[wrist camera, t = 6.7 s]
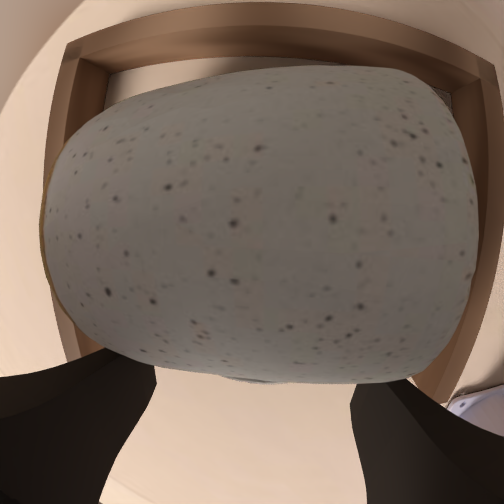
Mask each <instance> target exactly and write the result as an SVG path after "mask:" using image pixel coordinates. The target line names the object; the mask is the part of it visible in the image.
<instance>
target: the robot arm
mask: <svg viewBox="0 0 504 504" xmlns="http://www.w3.org/2000/svg"><path fill="white" fill-rule="evenodd" d="M156 385H157V382H156V375H155V369H154V365H150V364H146V363H142V362H139V361H136V360H134V359H131V358H129V357H126V356H124V355H122V354H119V353H117V352H115V351H112V350H110V349H108V348H106V347H105V348H103V349H100V350H98V351H96V352H93V353H91V354H89V355H86V356H84V357H81V358H78V359H76V360H73V361H70V362H68V363H65V364H62V365H59V366H56V367H53V368H49V369H46V370H42V371H38V372H33V373H29V374H22V375H15V376H7V377H0V504H98V502H99V499H100V496H101V493H102V490H103V488H104V485H105V483H106V480H107V477H108V475H109V473H110V470H111V468H112V466H113V463H114V461H115V459H116V457H117V455H118V453H119V452H120V450H121V448H122V446H123V445H124V443H125V442H126V440H127V438H128V437H129V435H130V434H131V432H132V430H133V429H134V427H135V426H136V424H137V422H138V421H139V419H140V418H141V416H142V414H143V413H144V411H145V409H146V408H147V406H148V404H149V401H150V399H151V397H152V395H153V392H154V390H155V387H156ZM350 411H351V421H352V429H353V433H354V437H355V441H356V445H357V449H358V453H359V458H360V462H361V466H362V470H363V474H364V479H365V485H366V492H367V504H504V385H501V386H497V387H494V388H491V389H487V390H483V391H480V392H476V393H472V394H468V395H464V396H459V397H456V398H455V399H453V400H452V401H451V403H450V404H449V406H448V408H447V409H446V408H444V407H443V406H441V405H440V404H438V403H437V402H436V401H434V400H433V399H431V398H430V397H429V396H427V395H426V394H425V393H423V392H422V391H421V390H419V389H418V388H417V387H416V386H414V385H413V384H412V383H411V382H409V381H408V380H407V379H406V378H405V379H400V380H395V381H389V382H381V383H361V384H357V385H356V388H355V391H354V394H353V397H352V400H351V402H350Z"/></svg>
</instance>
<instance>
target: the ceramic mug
mask: <svg viewBox="0 0 504 504" xmlns="http://www.w3.org/2000/svg"><path fill="white" fill-rule="evenodd" d="M39 237H40V249H41V256H42V261H43V266H44V270H45V275H46V278H47V280H48V283H49V285H50V287H51V289H52V292H53V294H54V296H55V298H56V300H57V302H58V304H59V307H60V308H61V309H62V311H63V312H64V313H65V314H66V315H67V317H68V318H69V319H70V320H71V321H72V323H73V324H74V325H75V326H76V327H77V328H78V329H79V330H80V331H81V332H82V333H83V334H85V335H86V336H88V337H89V338H91V339H92V340H94V341H95V342H97V343H98V344H100V345H101V346H103V347H106V348H108V349H110V350H112V351H115V352H117V353H119V354H122V355H124V356H126V357H129V358H131V359H134V360H136V361H139V362H142V363H146V364H150V365H154V366H158V367H163V368H169V369H176V370H183V371H190V372H198V373H207V374H214V375H219V376H222V377H225V378H229V379H232V380H236V381H241V382H248V383H255V384H282V383H310V384H361V383H381V382H389V381H395V380H400V379H405V378H409V377H411V376H413V375H415V374H418V373H420V372H422V371H424V370H425V369H426V368H427V367H428V366H429V365H430V364H431V362H432V361H433V360H434V359H436V357H437V356H438V355H439V354H440V353H441V352H442V350H443V349H444V348H445V347H446V345H447V344H448V343H449V341H450V339H451V338H452V336H453V334H454V332H455V330H456V328H457V326H458V324H459V321H460V319H461V317H462V314H463V312H464V309H465V306H466V304H467V301H468V298H469V293H470V286H471V280H472V277H473V275H474V272H475V269H476V261H477V251H478V240H479V222H478V202H477V190H476V185H475V180H474V176H473V171H472V167H471V163H470V160H469V156H468V153H467V150H466V146H465V143H464V140H463V137H462V134H461V131H460V129H459V127H458V126H457V124H456V122H455V120H454V118H453V116H452V114H451V112H450V111H449V109H448V108H447V106H446V105H445V103H444V102H443V100H442V99H441V98H440V97H439V96H438V95H437V94H436V93H435V92H434V90H433V89H432V88H431V87H430V86H429V85H427V84H426V83H424V82H423V81H421V80H420V79H418V78H417V77H415V76H413V75H412V74H409V73H406V72H404V71H401V70H397V69H393V68H382V67H368V66H327V65H306V66H291V67H275V68H266V69H257V70H247V71H240V72H234V73H228V74H223V75H218V76H212V77H207V78H203V79H198V80H193V81H189V82H184V83H180V84H176V85H172V86H168V87H164V88H160V89H156V90H152V91H149V92H145V93H142V94H139V95H136V96H133V97H130V98H128V99H126V100H123V101H121V102H119V103H116V104H114V105H113V106H111V107H110V108H108V109H106V110H105V111H103V112H102V113H100V114H99V115H97V116H95V117H94V118H92V119H91V120H89V121H88V122H86V123H85V124H84V125H83V126H82V127H81V128H80V129H79V130H78V131H77V132H75V133H74V134H73V135H72V136H71V137H70V138H69V139H68V140H67V141H66V143H65V144H64V146H63V147H62V149H61V150H60V152H59V153H58V155H57V156H56V158H55V160H54V162H53V164H52V167H51V169H50V171H49V174H48V177H47V180H46V183H45V186H44V190H43V196H42V203H41V210H40V219H39Z"/></svg>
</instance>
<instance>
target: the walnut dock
mask: <svg viewBox="0 0 504 504" xmlns="http://www.w3.org/2000/svg"><path fill="white" fill-rule="evenodd" d="M235 56H267V57H288V58H301V59H312V60H320V61H328V62H335V63H342V64H348V65H353V66H368V67H382V68H393V69H397V70H401V71H404V72H406V73H409V74H412V75H413V76H415V77H417V78H418V79H420V80H421V81H423V82H424V83H426V84H427V85H430V86H433V87H436V88H439V89H441V90H444V91H447V92H449V93H451V98H452V108H453V118H454V120H455V122H456V124H457V126H458V127H459V129H460V131H461V134H462V137H463V140H464V143H465V146H466V150H467V153H468V156H469V160H470V163H471V167H472V171H473V176H474V180H475V185H476V190H477V202H478V222H479V240H478V251H477V261H476V269H475V272H474V275H473V277H472V280H471V286H470V293H469V298H468V301H467V304H466V306H465V309H464V312H463V314H462V317H461V319H460V321H459V324H458V326H457V328H456V330H455V332H454V334H453V336H452V338H451V339H450V341H449V343H448V344H447V345H446V347H445V348H444V349H443V350H442V352H441V353H440V354H439V355H438V356H437V357H436V359H434V360H433V361H432V362H431V364H430V365H429V366H428V367H427V368H426V369H425V370H424V371H422V372H420V373H418V374H415V375H413V376H411V377H412V378H413V380H414V382H415V383H416V385H417V387H418V389H419V390H421V391H422V392H423V393H425V394H426V395H427V396H429V397H430V398H431V399H433V400H434V401H436V402H437V403H438V404H441V403H446V402H448V400H449V398H450V396H451V394H452V392H453V390H454V388H455V387H456V384H457V382H458V380H459V378H460V376H461V374H462V372H463V370H464V367H465V365H466V363H467V361H468V358H469V356H470V353H471V351H472V348H473V346H474V343H475V341H476V338H477V335H478V333H479V330H480V327H481V324H482V321H483V318H484V315H485V311H486V308H487V305H488V301H489V298H490V294H491V290H492V286H493V282H494V278H495V274H496V269H497V264H498V259H499V254H500V248H501V241H502V234H503V227H504V116H503V108H502V102H501V96H500V90H499V85H498V80H497V75H496V71H495V67H494V65H493V64H491V63H490V62H488V61H486V60H484V59H483V58H481V57H479V56H477V55H475V54H473V53H472V52H470V51H468V50H466V49H464V48H462V47H459V46H457V45H455V44H453V43H451V42H449V41H446V40H444V39H442V38H439V37H437V36H435V35H432V34H429V33H427V32H424V31H422V30H419V29H416V28H413V27H410V26H407V25H404V24H401V23H398V22H394V21H391V20H387V19H384V18H380V17H376V16H372V15H368V14H364V13H359V12H354V11H349V10H343V9H338V8H331V7H324V6H316V5H307V4H295V3H275V2H246V3H227V4H215V5H205V6H197V7H190V8H184V9H178V10H172V11H167V12H162V13H158V14H153V15H149V16H145V17H141V18H137V19H134V20H130V21H127V22H123V23H120V24H117V25H114V26H111V27H108V28H105V29H102V30H99V31H97V32H94V33H91V34H89V35H86V36H84V37H81V38H79V39H76V40H74V41H72V42H70V43H67V46H66V49H65V52H64V55H63V59H62V62H61V66H60V70H59V74H58V77H57V82H56V86H55V90H54V95H53V100H52V105H51V111H50V117H49V124H48V131H47V139H46V148H45V160H44V177H43V190H44V186H45V183H46V180H47V177H48V174H49V171H50V169H51V167H52V164H53V162H54V160H55V158H56V156H57V155H58V153H59V152H60V150H61V149H62V147H63V146H64V144H65V143H66V141H67V140H68V139H69V138H70V137H71V136H72V135H73V134H74V133H75V132H77V131H78V130H79V129H80V128H81V127H82V126H83V125H84V124H85V123H86V122H88V121H89V120H91V119H92V118H94V117H95V116H97V115H99V114H100V113H102V112H103V107H104V101H105V95H106V90H107V84H108V79H109V74H112V73H116V72H120V71H124V70H129V69H133V68H138V67H143V66H148V65H154V64H160V63H166V62H173V61H181V60H190V59H200V58H213V57H235ZM50 290H51V296H52V301H53V307H54V311H55V316H56V321H57V325H58V329H59V333H60V337H61V341H62V345H63V349H64V352H65V355H66V359H67V362H70V361H73V360H76V359H78V358H81V357H84V356H86V355H89V354H91V353H93V352H96V351H98V350H100V349H103V348H105V347H103V346H101V345H100V344H98V343H97V342H95V341H94V340H92V339H91V338H89V337H88V336H86V335H85V334H83V333H82V332H81V331H80V330H79V329H78V328H77V327H76V326H75V325H74V324H73V323H72V321H71V320H70V319H69V318H68V317H67V315H66V314H65V313H64V312H63V311H62V309H61V308H60V307H59V304H58V302H57V300H56V298H55V296H54V294H53V292H52V289H51V287H50Z"/></svg>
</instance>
